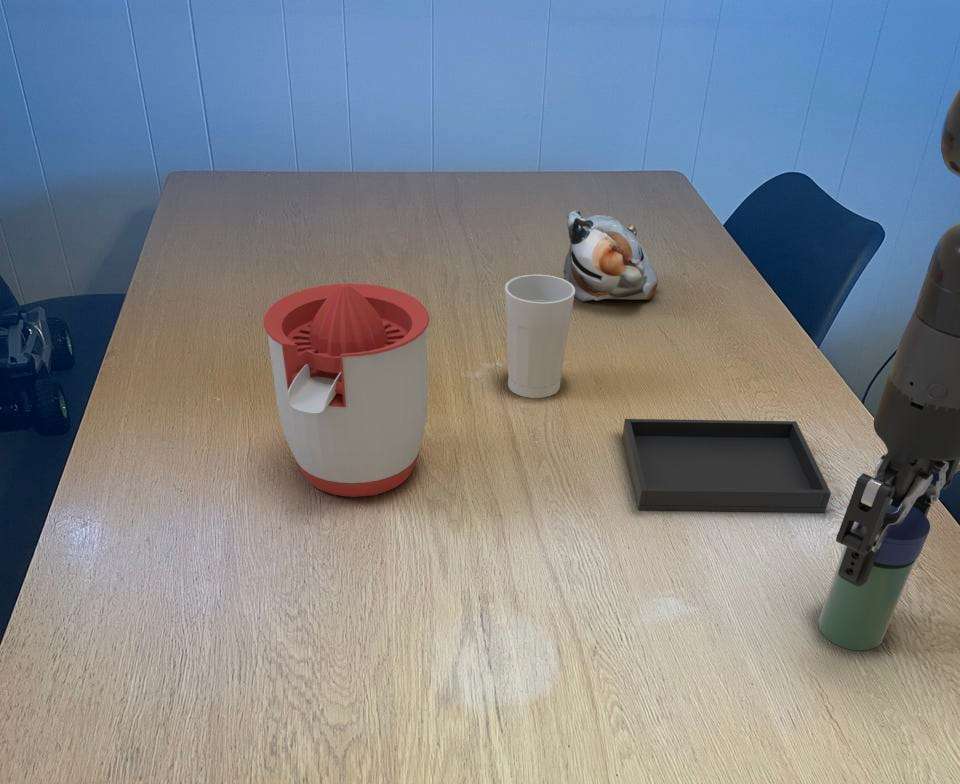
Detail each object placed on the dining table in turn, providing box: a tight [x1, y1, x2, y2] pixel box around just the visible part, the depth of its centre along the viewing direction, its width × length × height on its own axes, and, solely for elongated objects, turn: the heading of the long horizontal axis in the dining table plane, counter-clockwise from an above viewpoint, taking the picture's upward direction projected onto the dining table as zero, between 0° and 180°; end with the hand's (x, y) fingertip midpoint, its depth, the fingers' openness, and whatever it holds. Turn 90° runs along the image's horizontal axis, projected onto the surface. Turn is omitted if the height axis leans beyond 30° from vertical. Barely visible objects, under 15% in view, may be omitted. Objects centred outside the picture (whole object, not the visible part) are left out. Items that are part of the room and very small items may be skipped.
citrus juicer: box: [263, 283, 430, 498], centre depth 95 cm, size 16×17×20 cm
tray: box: [621, 418, 832, 513], centre depth 103 cm, size 19×14×2 cm
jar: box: [817, 545, 917, 652], centre depth 82 cm, size 6×6×11 cm
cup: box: [504, 274, 575, 399], centre depth 113 cm, size 8×8×12 cm
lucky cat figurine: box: [563, 209, 659, 303], centre depth 133 cm, size 15×12×14 cm
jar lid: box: [862, 505, 931, 565], centre depth 78 cm, size 6×6×2 cm
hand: (877, 558), depth 80 cm, fingers open, 8 cm apart
